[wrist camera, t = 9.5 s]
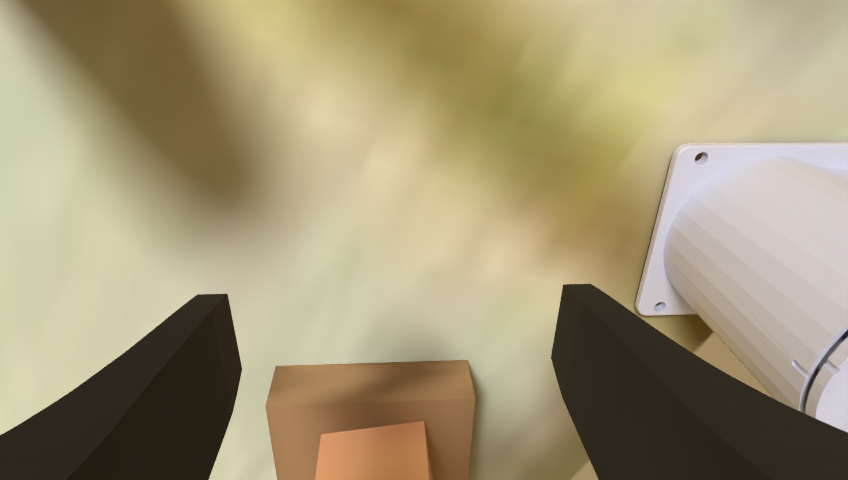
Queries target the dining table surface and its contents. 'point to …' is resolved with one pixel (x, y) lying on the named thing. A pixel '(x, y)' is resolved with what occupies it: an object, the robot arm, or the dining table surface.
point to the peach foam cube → (375, 454)
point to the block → (371, 410)
